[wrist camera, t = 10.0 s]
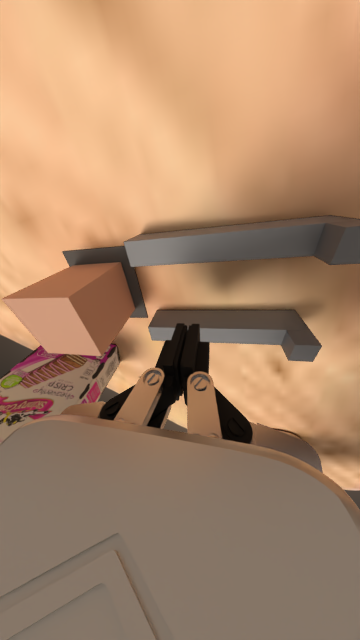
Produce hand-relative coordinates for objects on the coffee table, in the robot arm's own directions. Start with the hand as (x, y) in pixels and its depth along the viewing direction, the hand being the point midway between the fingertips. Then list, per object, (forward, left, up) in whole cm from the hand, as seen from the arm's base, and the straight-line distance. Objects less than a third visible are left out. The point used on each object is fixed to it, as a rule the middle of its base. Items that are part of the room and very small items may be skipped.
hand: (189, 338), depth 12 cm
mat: (+1, +11, -8) cm, 13 cm away
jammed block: (+1, +11, -8) cm, 14 cm away
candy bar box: (-10, +19, -8) cm, 23 cm away
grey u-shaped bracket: (+1, -3, -8) cm, 8 cm away
